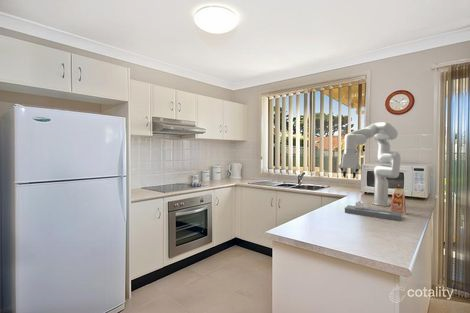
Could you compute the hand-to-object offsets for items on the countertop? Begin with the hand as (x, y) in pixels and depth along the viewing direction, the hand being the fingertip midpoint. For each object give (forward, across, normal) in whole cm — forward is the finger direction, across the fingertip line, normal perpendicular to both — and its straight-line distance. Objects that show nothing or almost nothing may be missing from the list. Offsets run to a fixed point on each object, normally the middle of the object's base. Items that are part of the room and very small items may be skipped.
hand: (349, 177), depth 176 cm
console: (+23, -15, 0) cm, 28 cm away
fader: (+20, -7, 0) cm, 21 cm away
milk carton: (+24, -29, -19) cm, 42 cm away
